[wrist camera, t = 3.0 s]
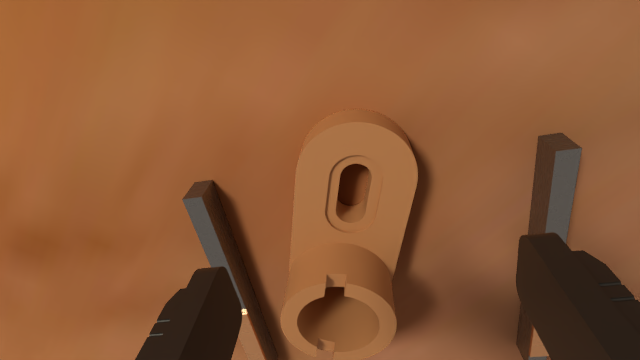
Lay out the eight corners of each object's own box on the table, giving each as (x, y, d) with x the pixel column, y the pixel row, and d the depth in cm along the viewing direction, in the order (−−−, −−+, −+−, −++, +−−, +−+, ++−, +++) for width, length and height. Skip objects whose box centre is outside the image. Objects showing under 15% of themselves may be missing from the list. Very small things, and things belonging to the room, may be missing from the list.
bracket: (378, 298, 35) (385, 367, 28) (290, 288, 35) (278, 354, 29) (423, 115, 26) (446, 159, 20) (304, 101, 26) (290, 141, 20)
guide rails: (194, 182, 29) (180, 201, 27) (562, 132, 25) (585, 149, 23) (264, 358, 40) (258, 383, 37) (533, 343, 36) (547, 370, 33)
